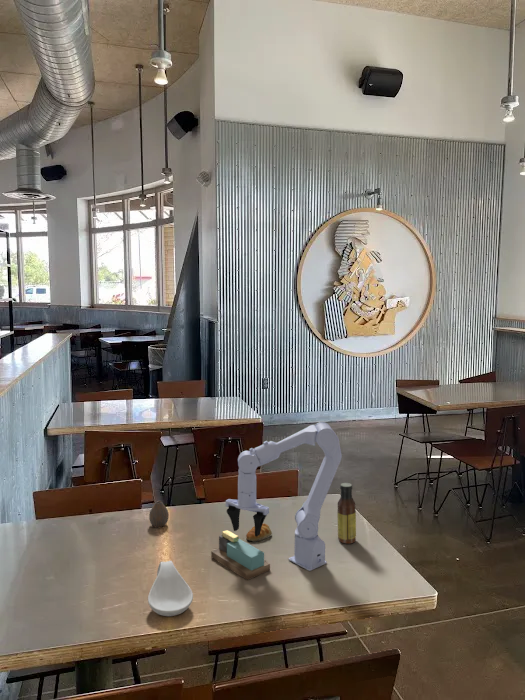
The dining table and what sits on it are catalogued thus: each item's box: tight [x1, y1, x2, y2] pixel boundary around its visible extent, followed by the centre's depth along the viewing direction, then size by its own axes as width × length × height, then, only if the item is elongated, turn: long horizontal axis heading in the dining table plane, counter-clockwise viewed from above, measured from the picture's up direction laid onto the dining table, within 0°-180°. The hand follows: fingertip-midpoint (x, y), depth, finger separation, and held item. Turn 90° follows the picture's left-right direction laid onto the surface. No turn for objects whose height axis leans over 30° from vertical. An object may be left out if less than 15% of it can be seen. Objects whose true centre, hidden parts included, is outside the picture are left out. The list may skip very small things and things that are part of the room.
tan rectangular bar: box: [221, 529, 240, 543], centre depth 166 cm, size 6×2×2 cm, turn 41°
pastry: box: [245, 522, 273, 542], centre depth 182 cm, size 9×7×4 cm
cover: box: [227, 538, 265, 571], centre depth 161 cm, size 12×5×4 cm, turn 41°
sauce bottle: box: [336, 482, 357, 545], centre depth 179 cm, size 7×6×20 cm
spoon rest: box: [147, 560, 194, 617], centre depth 144 cm, size 24×12×7 cm, turn 16°
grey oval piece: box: [148, 500, 170, 528], centre depth 190 cm, size 7×7×9 cm
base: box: [210, 534, 271, 581], centre depth 163 cm, size 18×9×6 cm, turn 41°
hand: (246, 532), depth 163 cm, fingers open, 7 cm apart
